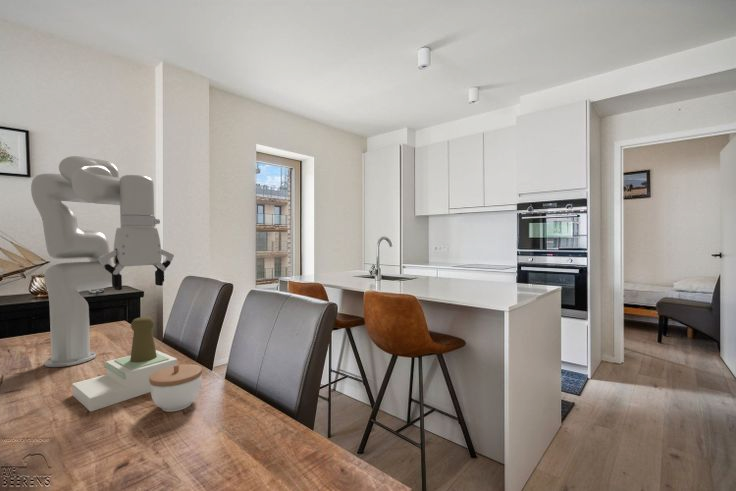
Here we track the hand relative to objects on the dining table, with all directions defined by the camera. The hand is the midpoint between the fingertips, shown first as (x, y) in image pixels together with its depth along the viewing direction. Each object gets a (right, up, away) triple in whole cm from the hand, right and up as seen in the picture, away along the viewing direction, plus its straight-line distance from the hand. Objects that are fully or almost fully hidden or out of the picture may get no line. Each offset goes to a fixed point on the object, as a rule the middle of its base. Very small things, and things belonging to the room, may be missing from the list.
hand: (139, 287), depth 93 cm
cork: (+1, -19, +1) cm, 19 cm away
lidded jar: (+16, -26, -12) cm, 33 cm away
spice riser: (-1, -26, -2) cm, 26 cm away
